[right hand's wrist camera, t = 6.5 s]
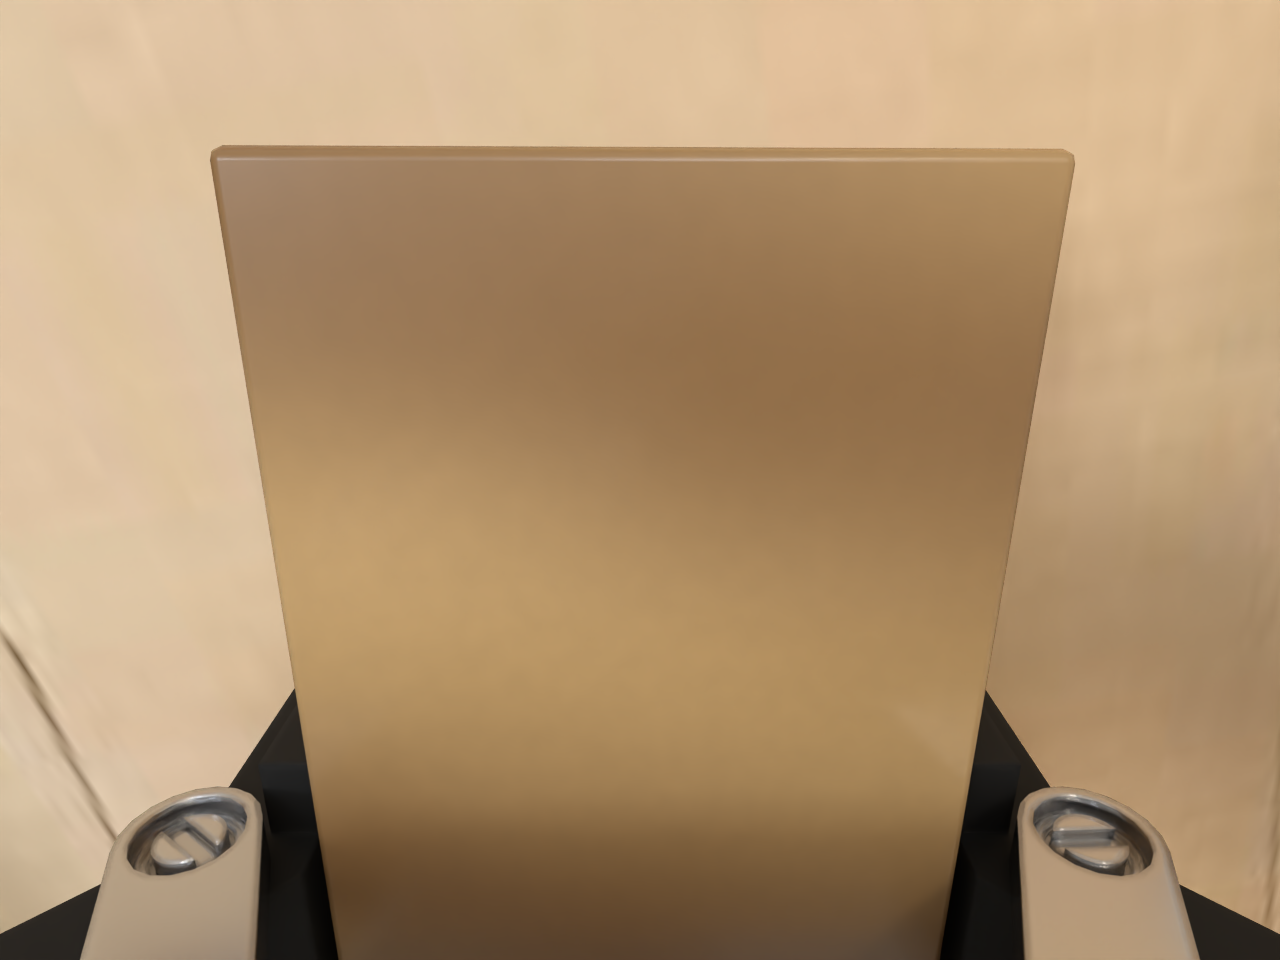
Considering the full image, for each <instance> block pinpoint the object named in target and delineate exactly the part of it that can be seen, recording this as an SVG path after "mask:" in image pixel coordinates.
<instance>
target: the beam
mask: <svg viewBox="0 0 1280 960" xmlns="http://www.w3.org/2000/svg"><path fill="white" fill-rule="evenodd" d="M210 162H211V169H212V175H213V181H214V187H215V193H216V200H217V206H218V212H219V218H220V225H221V231H222V237H223V243H224V250H225V256H226V262H227V268H228V274H229V281H230V287H231V293H232V299H233V306H234V312H235V318H236V324H237V330H238V337H239V343H240V349H241V355H242V362H243V368H244V374H245V380H246V387H247V393H248V399H249V405H250V411H251V418H252V424H253V430H254V436H255V443H256V449H257V455H258V461H259V468H260V474H261V480H262V486H263V492H264V499H265V505H266V511H267V517H268V524H269V530H270V536H271V542H272V548H273V555H274V561H275V567H276V573H277V580H278V586H279V592H280V598H281V605H282V611H283V617H284V623H285V629H286V636H287V642H288V648H289V654H290V661H291V667H292V673H293V679H294V685H295V692H296V698H297V704H298V710H299V717H300V723H301V729H302V735H303V742H304V748H305V754H306V760H307V766H308V773H309V779H310V785H311V791H312V798H313V804H314V810H315V816H316V823H317V829H318V835H319V841H320V847H321V854H322V860H323V866H324V872H325V879H326V885H327V891H328V897H329V903H330V910H331V916H332V922H333V928H334V935H335V941H336V947H337V953H338V960H939V959H940V953H941V948H942V942H943V936H944V930H945V924H946V918H947V912H948V906H949V901H950V895H951V889H952V883H953V877H954V871H955V865H956V859H957V854H958V848H959V842H960V836H961V830H962V824H963V818H964V813H965V807H966V801H967V795H968V789H969V783H970V777H971V771H972V766H973V760H974V754H975V748H976V742H977V736H978V730H979V724H980V719H981V713H982V707H983V701H984V695H985V689H986V683H987V678H988V672H989V666H990V660H991V654H992V648H993V642H994V636H995V631H996V625H997V619H998V613H999V607H1000V601H1001V595H1002V589H1003V584H1004V578H1005V572H1006V566H1007V560H1008V554H1009V548H1010V543H1011V537H1012V531H1013V525H1014V519H1015V513H1016V507H1017V501H1018V496H1019V490H1020V484H1021V478H1022V472H1023V466H1024V460H1025V454H1026V449H1027V443H1028V437H1029V431H1030V425H1031V419H1032V413H1033V407H1034V402H1035V396H1036V390H1037V384H1038V378H1039V372H1040V366H1041V361H1042V355H1043V349H1044V343H1045V337H1046V331H1047V325H1048V319H1049V314H1050V308H1051V302H1052V296H1053V290H1054V284H1055V278H1056V272H1057V267H1058V261H1059V255H1060V249H1061V243H1062V237H1063V231H1064V226H1065V220H1066V214H1067V208H1068V202H1069V196H1070V190H1071V184H1072V179H1073V173H1074V167H1075V161H1074V155H1073V154H1072V153H1070V152H1068V151H1066V150H1064V149H950V148H721V147H492V146H264V145H222V146H220V147H218V148H216V149H214V150H213V151H212V152H211V158H210Z"/></svg>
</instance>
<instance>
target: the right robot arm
mask: <svg viewBox="0 0 1280 960" xmlns="http://www.w3.org/2000/svg"><path fill="white" fill-rule="evenodd" d="M0 960H338V953H337V947H336V941H335V935H334V928H333V922H332V916H331V910H330V903H329V897H328V891H327V885H326V879H325V872H324V866H323V860H322V854H321V847H320V841H319V835H318V829H317V823H316V816H315V810H314V804H313V798H312V791H311V785H310V779H309V773H308V766H307V760H306V754H305V748H304V742H303V735H302V729H301V723H300V717H299V710H298V704H297V698H296V692H295V689H294V690H293V692H292V693H291V695H290V696H289V698H288V699H287V701H286V702H285V704H284V705H283V707H282V708H281V710H280V711H279V713H278V714H277V716H276V717H275V719H274V720H273V722H272V723H271V725H270V726H269V728H268V729H267V731H266V732H265V734H264V735H263V737H262V738H261V740H260V741H259V743H258V744H257V746H256V747H255V749H254V750H253V752H252V753H251V755H250V756H249V758H248V759H247V761H246V762H245V764H244V765H243V767H242V768H241V770H240V771H239V773H238V774H237V776H236V777H235V779H234V780H233V782H232V783H231V785H230V786H229V788H228V787H211V788H203V789H196V790H192V791H189V792H186V793H183V794H179V795H176V796H173V797H171V798H169V799H167V800H165V801H163V802H161V803H159V804H157V805H155V806H153V807H151V808H149V809H148V810H147V811H145V812H144V813H142V814H141V815H140V816H138V817H137V818H135V819H134V820H133V821H132V822H131V823H130V824H129V825H128V826H127V827H126V828H125V829H124V830H123V831H122V832H121V833H120V834H119V835H118V837H117V839H116V841H115V843H114V845H113V847H112V849H111V851H110V853H109V857H108V861H107V864H106V868H105V871H104V875H103V879H102V882H101V884H100V885H98V886H96V887H94V888H92V889H90V890H88V891H86V892H84V893H82V894H80V895H78V896H76V897H74V898H72V899H70V900H68V901H66V902H64V903H62V904H60V905H58V906H56V907H54V908H52V909H50V910H48V911H46V912H44V913H42V914H40V915H38V916H36V917H34V918H32V919H30V920H28V921H26V922H24V923H22V924H20V925H17V926H15V927H13V928H11V929H9V930H7V931H5V932H3V933H1V934H0ZM939 960H1280V934H1278V933H1276V932H1274V931H1272V930H1270V929H1268V928H1266V927H1264V926H1262V925H1260V924H1258V923H1256V922H1254V921H1252V920H1250V919H1248V918H1246V917H1244V916H1242V915H1240V914H1238V913H1236V912H1234V911H1232V910H1230V909H1228V908H1226V907H1224V906H1222V905H1220V904H1218V903H1216V902H1214V901H1212V900H1210V899H1208V898H1206V897H1204V896H1202V895H1200V894H1198V893H1196V892H1194V891H1192V890H1189V889H1187V888H1185V887H1183V886H1181V885H1179V882H1178V879H1177V875H1176V871H1175V868H1174V864H1173V861H1172V857H1171V853H1170V851H1169V849H1168V847H1167V845H1166V843H1165V841H1164V839H1163V837H1162V835H1161V834H1160V833H1159V832H1158V831H1157V830H1156V829H1155V828H1154V827H1153V826H1152V825H1151V824H1150V823H1149V822H1148V821H1147V820H1146V819H1145V818H1143V817H1142V816H1140V815H1139V814H1138V813H1136V812H1135V811H1133V810H1132V809H1131V808H1129V807H1127V806H1125V805H1123V804H1121V803H1119V802H1117V801H1115V800H1113V799H1111V798H1109V797H1107V796H1104V795H1101V794H1097V793H1094V792H1091V791H1088V790H1084V789H1077V788H1069V787H1052V788H1051V787H1050V786H1049V784H1048V783H1047V781H1046V780H1045V778H1044V777H1043V775H1042V774H1041V772H1040V771H1039V769H1038V768H1037V766H1036V765H1035V763H1034V762H1033V760H1032V759H1031V757H1030V756H1029V754H1028V753H1027V751H1026V750H1025V748H1024V747H1023V745H1022V744H1021V742H1020V741H1019V739H1018V738H1017V736H1016V735H1015V733H1014V732H1013V730H1012V729H1011V727H1010V726H1009V724H1008V723H1007V721H1006V720H1005V718H1004V717H1003V715H1002V714H1001V712H1000V711H999V709H998V708H997V706H996V705H995V703H994V702H993V700H992V699H991V697H990V696H989V694H988V693H987V691H986V690H985V695H984V701H983V707H982V713H981V719H980V724H979V730H978V736H977V742H976V748H975V754H974V760H973V766H972V771H971V777H970V783H969V789H968V795H967V801H966V807H965V813H964V818H963V824H962V830H961V836H960V842H959V848H958V854H957V859H956V865H955V871H954V877H953V883H952V889H951V895H950V901H949V906H948V912H947V918H946V924H945V930H944V936H943V942H942V948H941V953H940V959H939Z"/></svg>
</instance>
